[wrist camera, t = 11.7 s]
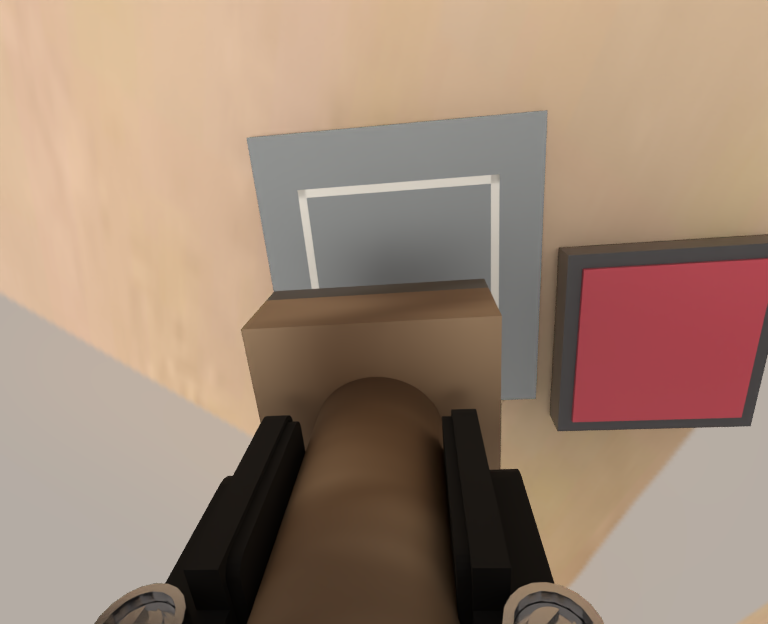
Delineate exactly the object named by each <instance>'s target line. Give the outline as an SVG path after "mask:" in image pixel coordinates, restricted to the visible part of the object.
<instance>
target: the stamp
mask: <svg viewBox="0 0 768 624" xmlns="http://www.w3.org/2000/svg"><path fill="white" fill-rule="evenodd" d="M241 332H242V337H243V341H244V346H245V351H246V356H247V360H248V365H249V370H250V375H251V379H252V384H253V389H254V393H255V398H256V403H257V408H258V412H259V417H260V422H262V420H263V418H264V417H265V416H281V415H290V416H291V417H292V420H293V421H298V422H300V425H301V429H302V435H303V441H304V446H305V455H304V458H303V461H302V464H301V467H300V470H299V473H298V476H297V479H296V481H295V484H294V487H293V490H292V493H291V496H290V499H289V502H288V505H287V508H286V511H285V514H284V517H283V519H282V522H281V525H280V528H279V531H278V534H277V537H276V540H275V543H274V546H273V549H272V552H271V555H270V558H269V560H268V563H267V566H266V569H265V572H264V575H263V578H262V581H261V584H260V587H259V590H258V593H257V596H256V598H255V601H254V604H253V607H252V610H251V613H250V616H249V619H248V622H247V624H460V621H459V619H458V610H457V598H456V587H455V576H454V564H453V553H452V542H451V531H450V519H449V508H448V497H447V485H446V474H445V463H444V451H443V430H442V416H451V409H476V411H477V415H478V420H479V424H480V429H481V433H482V438H483V442H484V447H485V452H486V456H487V461H488V465H489V470H498V469H500V456H501V354H502V315H501V313H500V311H499V309H498V307H497V304H496V302H495V300H494V298H493V296H492V294H491V292H490V290H489V288H488V285H487V283H486V281H485V279H469V280H452V281H435V282H419V283H402V284H385V285H369V286H352V287H336V288H319V289H302V290H286V291H275V292H274V293H273V294H272V295H271V296H270V297H269V298H268V300H267V301H266V302H265V303H264V304H263V305H262V306H261V307H260V309H259V310H258V311H257V312H256V313H255V314H254V315H253V317H252V318H251V319H250V320H249V321H248V322H247V323H246V324H245V326H244V327H243V328H242V329H241Z"/></svg>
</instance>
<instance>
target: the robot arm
mask: <svg viewBox="0 0 768 624" xmlns="http://www.w3.org/2000/svg"><path fill="white" fill-rule="evenodd" d="M442 430H443V451H444V463H445V474H446V485H447V497H448V508H449V519H450V531H451V542H452V553H453V564H454V576H455V587H456V598H457V610H458V619H459V621H460V624H604V622H603V620H602V618H601V617H600V615H599V614H598V613H597V612H596V610H595V609H594V608H593V606H592V605H591V604H590V603H589V602H588V601H586V600H585V599H584V598H583V597H581V596H580V595H579V594H578V593H576V592H574V591H572V590H570V589H568V588H566V587H564V586H561V585H557V584H554V581H553V577H552V574H551V571H550V568H549V564H548V561H547V558H546V555H545V551H544V548H543V545H542V542H541V538H540V535H539V532H538V529H537V525H536V522H535V519H534V516H533V512H532V509H531V506H530V503H529V499H528V496H527V493H526V490H525V486H524V483H523V480H522V477H521V474H520V472H519V470H518V469H498V470H489V465H488V461H487V456H486V452H485V447H484V442H483V438H482V433H481V429H480V424H479V420H478V415H477V411H476V409H451V416H442ZM304 455H305V446H304V441H303V435H302V429H301V425H300V422H298V421H293V420H292V417H291V416H290V415H281V416H265V417H264V418H263V420H262V422H261V424H260V426H259V428H258V429H257V431H256V433H255V435H254V437H253V439H252V441H251V443H250V445H249V447H248V448H247V450H246V452H245V454H244V456H243V458H242V460H241V462H240V463H239V465H238V467H237V469H236V471H235V473H234V475H233V476H227V477H226V478H224V479H223V481H222V482H221V484H220V486H219V487H218V489H217V491H216V493H215V494H214V496H213V498H212V500H211V502H210V503H209V505H208V507H207V509H206V511H205V513H204V514H203V516H202V518H201V520H200V522H199V523H198V525H197V527H196V529H195V531H194V532H193V534H192V536H191V538H190V540H189V542H188V543H187V545H186V547H185V549H184V551H183V552H182V554H181V556H180V558H179V559H178V561H177V563H176V565H175V567H174V569H173V570H172V572H171V574H170V576H169V578H168V579H167V581H166V583H165V584H163V583H154V584H150V585H146V586H142V587H139V588H137V589H135V590H133V591H131V592H129V593H127V594H126V595H124V596H122V597H121V598H120V599H118V600H117V601H115V602H114V603H113V604H111V605H110V606H109V608H108V609H106V610H105V611H104V612H103V613H102V615H100V616H99V618H98V619H97V621H96V622H95V624H247V622H248V619H249V616H250V613H251V610H252V607H253V604H254V601H255V598H256V596H257V593H258V590H259V587H260V584H261V581H262V578H263V575H264V572H265V569H266V566H267V563H268V560H269V558H270V555H271V552H272V549H273V546H274V543H275V540H276V537H277V534H278V531H279V528H280V525H281V522H282V519H283V517H284V514H285V511H286V508H287V505H288V502H289V499H290V496H291V493H292V490H293V487H294V484H295V481H296V479H297V476H298V473H299V470H300V467H301V464H302V461H303V458H304Z"/></svg>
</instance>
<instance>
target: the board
mask: <svg viewBox="0 0 768 624" xmlns="http://www.w3.org/2000/svg"><path fill="white" fill-rule="evenodd" d="M546 134H547V110H546V111H535V112H524V113H513V114H502V115H491V116H480V117H469V118H458V119H448V120H437V121H426V122H415V123H404V124H393V125H382V126H371V127H360V128H349V129H338V130H327V131H316V132H305V133H294V134H283V135H272V136H261V137H250V138H247V143H248V149H249V155H250V160H251V166H252V172H253V177H254V183H255V188H256V194H257V200H258V205H259V211H260V217H261V222H262V228H263V234H264V239H265V245H266V250H267V256H268V262H269V267H270V273H271V279H272V284H273V290H274V292H275V291H286V290H302V289H319V288H336V287H352V286H369V285H385V284H402V283H419V282H435V281H452V280H469V279H485V281H486V283H487V285H488V288H489V290H490V292H491V294H492V296H493V298H494V300H495V302H496V304H497V307H498V309H499V311H500V313H501V315H502V354H501V400H513V399H536V381H537V356H538V332H539V307H540V282H541V258H542V233H543V208H544V184H545V159H546Z"/></svg>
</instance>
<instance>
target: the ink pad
mask: <svg viewBox="0 0 768 624" xmlns="http://www.w3.org/2000/svg"><path fill="white" fill-rule="evenodd" d="M767 355H768V235H753V236H737V237H721V238H705V239H689V240H673V241H658V242H642V243H626V244H610V245H594V246H579V247H563V248H559V256H558V275H557V293H556V312H555V330H554V349H553V367H552V386H551V404H550V416H551V418H552V420H553V422H554V425H555V427H556V429H557V431H583V430H621V429H659V428H697V427H734V426H751V422H752V418H753V413H754V409H755V405H756V401H757V397H758V392H759V388H760V384H761V380H762V376H763V371H764V367H765V363H766V359H767Z"/></svg>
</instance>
